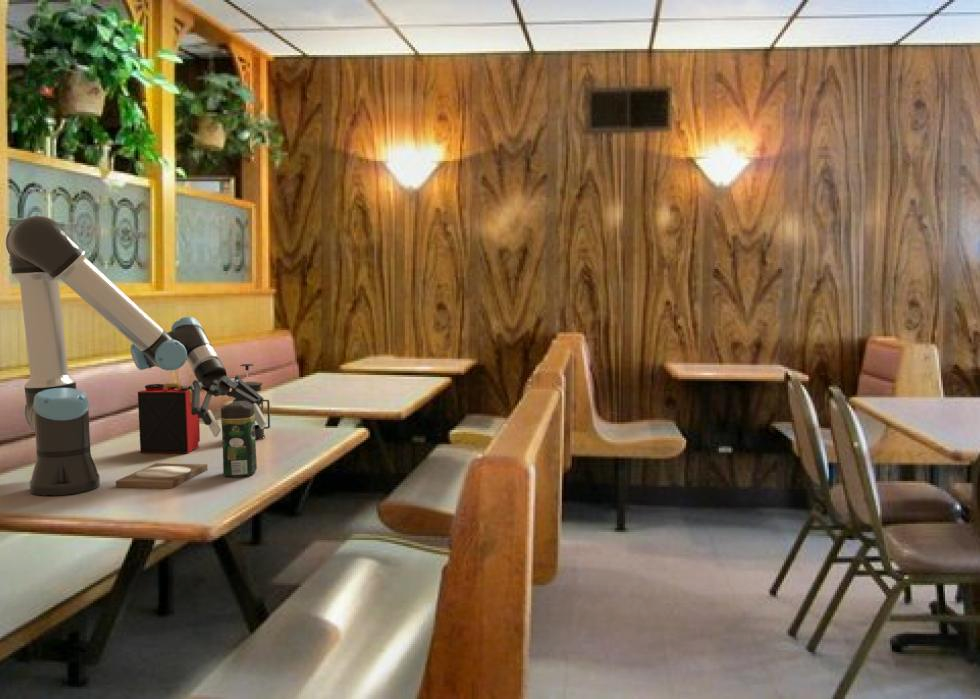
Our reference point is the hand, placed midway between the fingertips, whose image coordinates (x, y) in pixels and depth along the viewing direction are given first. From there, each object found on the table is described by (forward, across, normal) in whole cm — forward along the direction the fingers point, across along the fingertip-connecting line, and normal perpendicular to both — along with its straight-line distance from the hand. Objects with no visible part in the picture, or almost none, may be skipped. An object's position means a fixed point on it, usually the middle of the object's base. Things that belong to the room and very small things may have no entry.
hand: (241, 429), depth 232 cm
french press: (-20, -29, -37) cm, 51 cm away
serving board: (+1, +16, -15) cm, 22 cm away
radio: (-21, -3, -38) cm, 43 cm away
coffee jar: (+9, +1, -7) cm, 11 cm away
